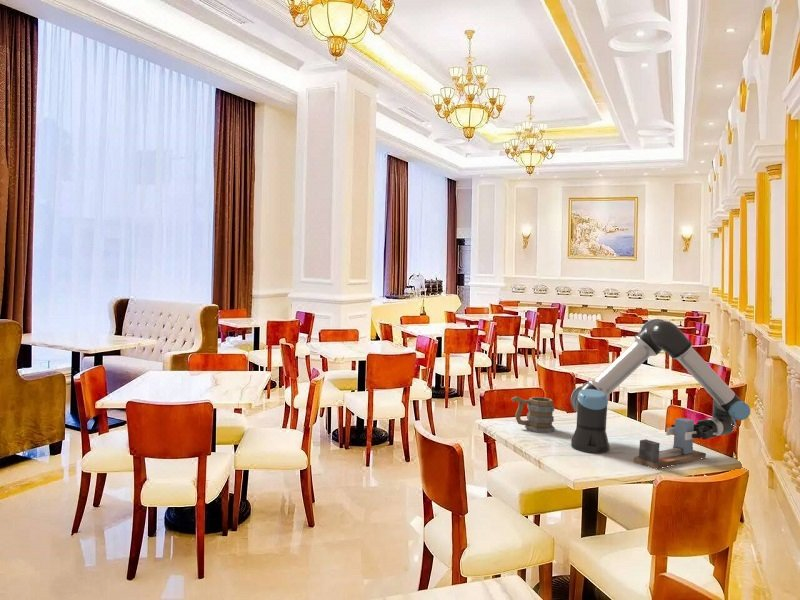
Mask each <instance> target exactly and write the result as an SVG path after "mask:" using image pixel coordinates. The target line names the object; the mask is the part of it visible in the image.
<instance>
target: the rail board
mask: <svg viewBox="0 0 800 600" xmlns="http://www.w3.org/2000/svg"><path fill="white" fill-rule="evenodd" d="M660 445H661V444H660V443H659V442H658V441H653V440H649V439H641V440H639V446H638V447H639V451H638V455H637V456H634V457H633V463H636V464H638V465H641V466H646V467H648V466H649V468H651V467H653V468H652V469H654V468H657V469H658V470H660V469H659V468H662V467H666V468H668V467H667V466H671V465H675V466H678V465H677V464H679V465H683V463H684V464H687V462H688V463H692V462H695V461H694V460H696V461H699V460H698V459H701V458H705V457H706V456H707V453H706V452H703V451H699V450H695V449H693V453H690V454H683V449H682V448H679V447H677V448H673V447H672V448H668V449H662V450H660ZM706 458H707V457H706ZM706 458H705V459H706ZM701 460H702V459H701ZM691 461H692V462H691ZM671 467H672V466H671ZM657 469H656V470H657ZM662 469H663V468H662Z"/></svg>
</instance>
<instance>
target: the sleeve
mask: <svg viewBox="0 0 800 600" xmlns="http://www.w3.org/2000/svg"><path fill="white" fill-rule="evenodd" d="M694 424H695V420H694V419H689V418H685V417H678V418H675V419H674V425H675V431H674V434H673V446H672V448H677V447H679V448H682V449H683V454H690V453H693V450H694V447H693V444H694V439H691V440H685V433H688V432H693V431H694Z"/></svg>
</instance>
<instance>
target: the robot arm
mask: <svg viewBox="0 0 800 600" xmlns="http://www.w3.org/2000/svg"><path fill="white" fill-rule="evenodd" d="M661 351H664V352H665V353H666V354H668V355H669V357H670V358H672V360H677V361H678V362H679V364H681V365H682V366H683V368H684V369H686V371H687V372H688V373H689V374H690V375H691V376H692V377H693V378H694V379H695V381H697V383H699V385H700V386H701V387H702V388H703V389H704V390H705V391H706V393H708V395H709V396H710V397H711V398H713V400H712V417H710V418H706V419H700V420H698V421H697V422H696V423H694V431H693V432H688V433H685V440H691V439H693V440H695V439H698V440H699V439H702V440H703V441H705V440H707V439H708V440H709V439H713V438H716V437H719V436H726V435H729V434H732V433H733V432H732V431H734V428H733V427H734V426H736V427H737V426H738V425H737V421H736V420H738V421H744V420H746V419H748V417H750V416H751V407H750V405H749V404H747V403H746V402H745V401H743V400H742V399H741V398H740V397H739V396H738V395H737V394H736V393H735V391H734V390H732V388H730V386H729V385H728V384H727V383H726V382H725V381H724V380H723V379H722V378H721V377H720V376H719V374H717V372H716V371H715V370H714V369H713V368H712V367H711V365H709V364H708V363H707V362H706V361H705V360H704V358H703V357H702V356H701V355H700V354H699V352H697V351H696V350H695V349H694V347H693V343H692V342H691V341H690V340H689V338H688V337H687V336H686V335H685V333H683V331H682V330H681V329H680V328H679V327H678V326H677V324H675V323H673V322H671V321H667V320H663V319H660V318H657V319H651V320H648V321H646V322H645V323H644V324H643V325H642V326H641V329H640V331H639V332H638V333H637V334H636V335H635V336H634V342H633V343H632V344H630V346H629V347H627V349H625V350H624V351H623V352H622V353H621V354H620V355H619V356H618V357H617V358H616V359H615V360H614V361H613V362H612V363H610V364H609V365H608V366H607V367H606V368H605V369H604V370H603V371H602V372H601V373H600V374H598V376H596V378H594V379H588V380H587V381H586V382H585V383H584V384H583V385H581V386H579V387H576V388H575V389H574V390H573V391H572V393H571V396H570V404H571V407H572V408H573V410H574V411H575V412H576V413H577V414H576V427H575V431H574V433H573V436H572V438H571V441H570V446H571V448H572V449H574V450H577V451H580V452H583V453H584V452H585V453H593V454H604V453H608V452H609V451H610V442H609V439H608V435H607V418H608V417H607V415H608V405H609V404H608V403H609V400H610V394H611V393H613V392H614V391H615V390H616V389H617V387H619V386H620V385H621V384H622V383H623V382H624V381H626V379H627V378H629V376H630V375H632V374H633V373H634V372H635V371H636V370H637V369H638V368H639V367H640V366H641V365H642V364H643V363H644V362H646V361H647V360H648V359H649V358H650V357H652V356H654V357H655V356H657V355H658V354H660V353H661ZM731 424H732V425H731ZM733 425H734V426H733ZM674 431H675V424H671V426H670V427H666V435H665V436H672V435H673V436H674ZM731 432H732V433H731ZM734 432H735V431H734Z"/></svg>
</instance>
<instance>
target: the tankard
mask: <svg viewBox="0 0 800 600" xmlns="http://www.w3.org/2000/svg"><path fill="white" fill-rule="evenodd" d="M510 399H511V401H512V403H515V402H516V401H517V402H518V407H517V409H516V412H515V421H516V422H517V424H518V425H522V426H524V428H525V429H526V431H530V432H533V433H538V434H539V433H542V434H543V433H544V434H549V433H553V432H555V429H556V427H555V426H554V425H553V423H554V420H555V417H554V416H553V412H555V406H554V400H553V399H552V398H549V397H543V396H542V397H541V396H531V397H529V399H523V398H521V397H519V396H518V395H516V396H514V397H512V398H510ZM524 404H525V405H527V409H528V412H527V413H526V419H525V420H522V419H521V414H522V412H523V410H524Z"/></svg>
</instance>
